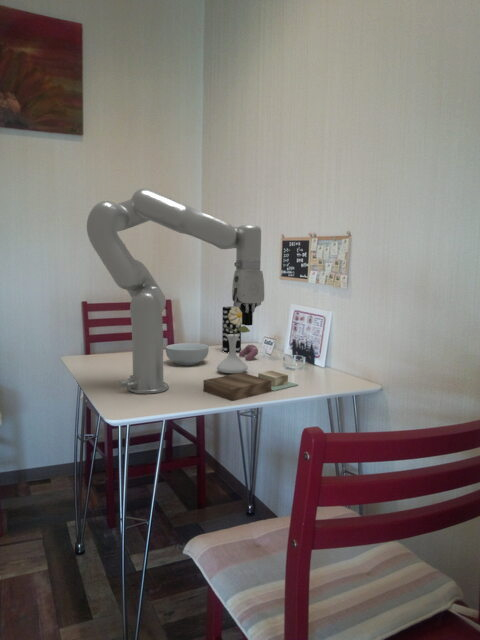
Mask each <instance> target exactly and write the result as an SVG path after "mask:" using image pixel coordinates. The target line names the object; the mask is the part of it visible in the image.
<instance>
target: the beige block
mask: <svg viewBox="0 0 480 640" xmlns="http://www.w3.org/2000/svg"><path fill="white" fill-rule="evenodd" d="M257 375H258V376H257V377H260V378H264V379H267V380H271V381H272V383H271V386H274V387H276V386H281V385H285V384H288V382H289V374H286V373H282V372H278V371H274V370H269V371H268V370H267V371H262V372H258V373H257Z"/></svg>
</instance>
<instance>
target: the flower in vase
mask: <svg viewBox="0 0 480 640" xmlns="http://www.w3.org/2000/svg"><path fill="white" fill-rule="evenodd" d="M233 307H234V308H231V310H230V312H229V314H228V317H229V320H230V323H233V324H234V325H235V324H236V325H237V326H239V328H238V329H239V330H240V331H241V334H243V333H249V332H251V330H250V329H249V328H248V327H247V325H242V312H241V311H240V309H239V307H235V306H233ZM240 325H241V327H240ZM227 328H229V327H227ZM229 329H231V328H229ZM238 329H237V331H238ZM231 330H233V329H231ZM233 331H234V330H233ZM237 331H236V332H237ZM236 332H235V334H228V335H226V337H227V338H228V341H229V348H230V350H229V353H228V355H227V356H226V357H225V358H224V359H223V360H222V361H220V363H218V364H217V366H216V369H217V371H219V372H221V373H225V374H230V375H232V374H237V373H244V372H246V371H248V369H249V368H248V365H247V364H246V362H245V361H243V360H242V359H241V358H240V357H239V356H238V355H237V353H236V342H237V339H238V337H239V336H240V335H237V334H236Z"/></svg>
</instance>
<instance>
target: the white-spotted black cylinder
mask: <svg viewBox="0 0 480 640" xmlns="http://www.w3.org/2000/svg"><path fill="white" fill-rule="evenodd" d="M234 307H235V306H222V327H221V328H222V329H221V330H222V331H221V332H222V344H221V345H222V350H221V352H222V351H224V352H229V350H230V348H229V341H228V338H227V337H226V335H228V334H235V332H236V331H237V329H238V328H239V326H237V325H236V324H235V325H234V324H233V323H230V320H229V317H228V314H229V312H230V310H231V308H234ZM227 327H229V328H231V329H233V330H234V331H233V330H231V329H229V328H227ZM240 327H242V325H240ZM236 334H237V335H240V336H239V337H238V339H237V342H236V352H239V351H242V332H241V331H240V330H239V329H238V331H237V332H236ZM224 352H223V353H224ZM239 353H240V352H239Z"/></svg>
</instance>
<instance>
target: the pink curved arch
mask: <svg viewBox="0 0 480 640" xmlns="http://www.w3.org/2000/svg"><path fill="white" fill-rule="evenodd" d="M238 354H239V355H238V357H240V356H243V357H245V361H246V360H249V361H252V360H253V359H254V358H255V357H257V355H259V349H258V347H257V346H256V345H254V344H247V345H246V346H245V347H244V348H243V349H241V352H239V353H238Z"/></svg>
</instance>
